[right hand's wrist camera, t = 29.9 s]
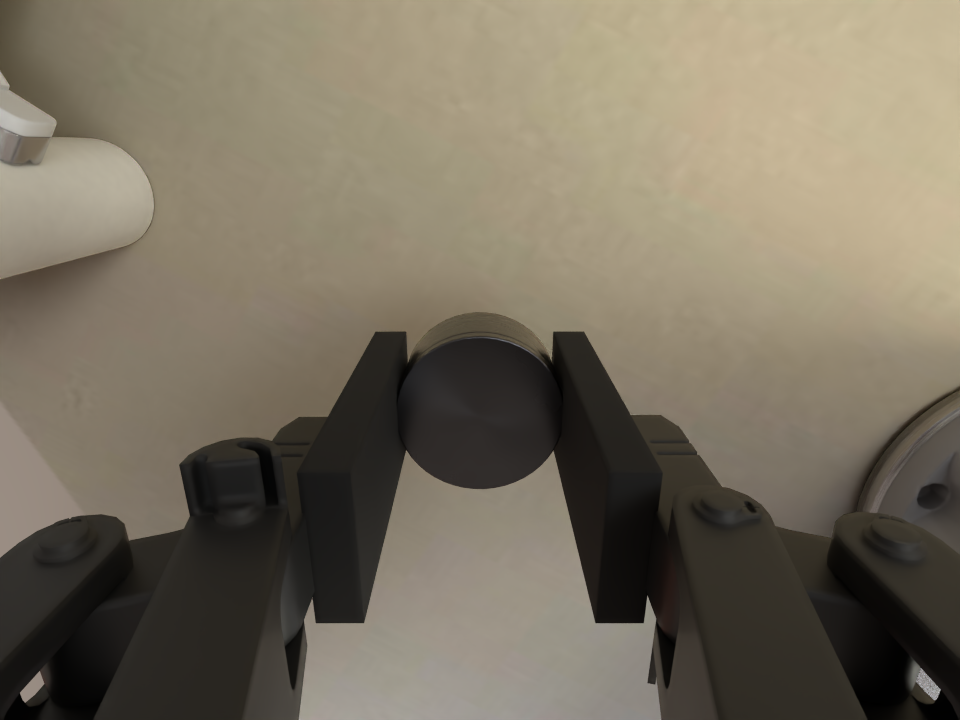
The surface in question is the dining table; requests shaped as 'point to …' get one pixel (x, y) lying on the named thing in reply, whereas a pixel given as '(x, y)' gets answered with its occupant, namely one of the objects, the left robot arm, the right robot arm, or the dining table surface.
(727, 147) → the dining table surface
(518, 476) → the cap
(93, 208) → the bottle
